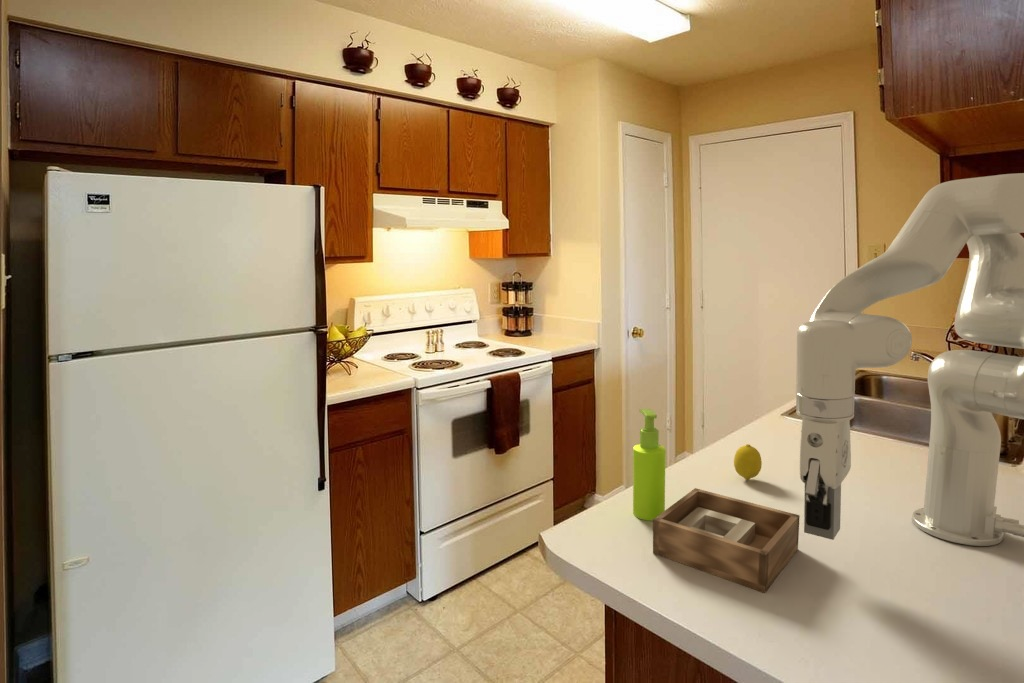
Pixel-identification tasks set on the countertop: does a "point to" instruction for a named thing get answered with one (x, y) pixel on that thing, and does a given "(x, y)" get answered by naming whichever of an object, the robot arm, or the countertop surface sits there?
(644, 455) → the soap dispenser
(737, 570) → the crate
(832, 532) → the plug
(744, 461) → the lemon
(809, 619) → the countertop surface
